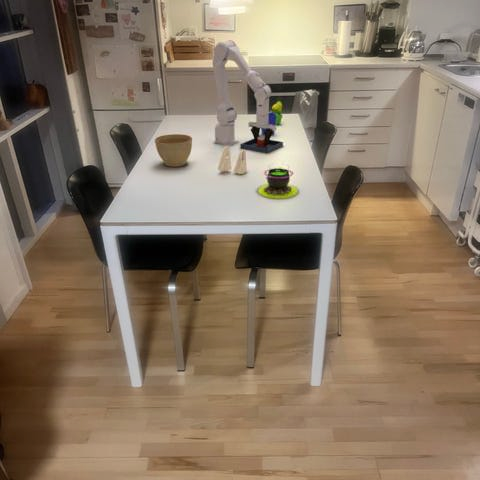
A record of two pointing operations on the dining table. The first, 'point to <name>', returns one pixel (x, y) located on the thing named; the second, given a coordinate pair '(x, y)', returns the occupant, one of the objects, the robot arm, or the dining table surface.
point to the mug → (270, 122)
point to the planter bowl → (174, 149)
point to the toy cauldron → (278, 184)
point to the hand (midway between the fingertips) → (261, 144)
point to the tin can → (261, 141)
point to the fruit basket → (277, 112)
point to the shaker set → (226, 162)
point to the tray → (253, 147)
